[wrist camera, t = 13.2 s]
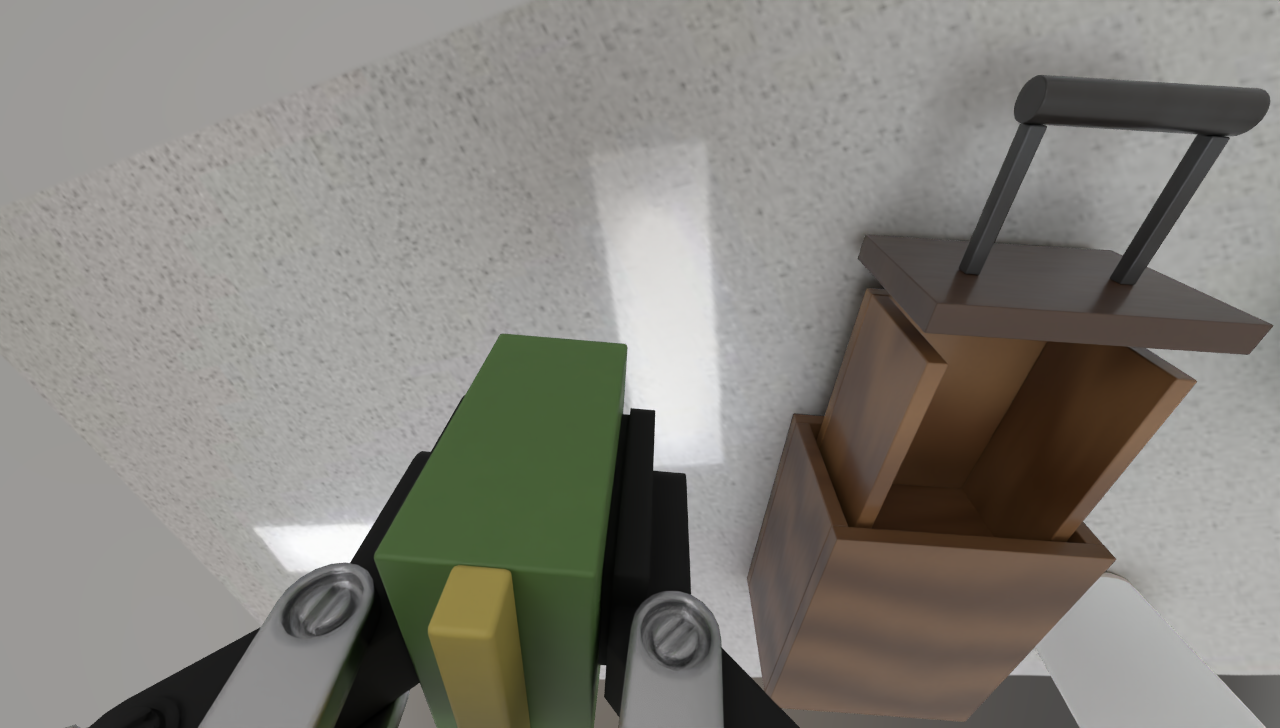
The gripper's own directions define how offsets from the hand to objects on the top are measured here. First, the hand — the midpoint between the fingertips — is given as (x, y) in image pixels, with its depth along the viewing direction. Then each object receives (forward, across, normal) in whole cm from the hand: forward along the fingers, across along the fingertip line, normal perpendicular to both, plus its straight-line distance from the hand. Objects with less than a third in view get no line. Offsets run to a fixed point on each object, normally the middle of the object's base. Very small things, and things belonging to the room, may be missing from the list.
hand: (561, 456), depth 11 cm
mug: (+16, -38, +27) cm, 49 cm away
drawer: (+15, -17, +3) cm, 23 cm away
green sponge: (+1, 0, 0) cm, 1 cm away
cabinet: (+16, -18, +19) cm, 30 cm away
